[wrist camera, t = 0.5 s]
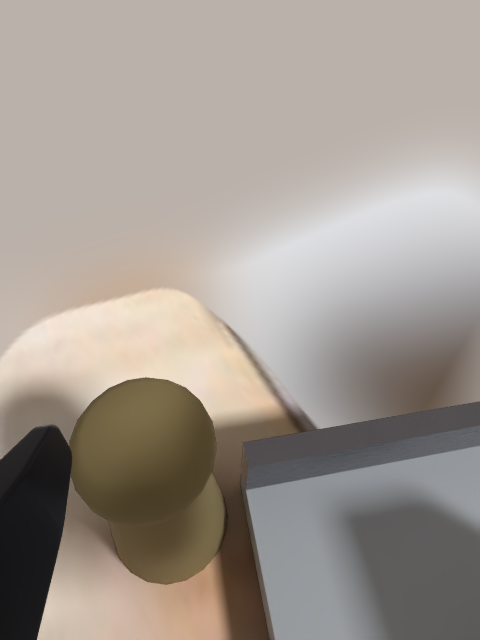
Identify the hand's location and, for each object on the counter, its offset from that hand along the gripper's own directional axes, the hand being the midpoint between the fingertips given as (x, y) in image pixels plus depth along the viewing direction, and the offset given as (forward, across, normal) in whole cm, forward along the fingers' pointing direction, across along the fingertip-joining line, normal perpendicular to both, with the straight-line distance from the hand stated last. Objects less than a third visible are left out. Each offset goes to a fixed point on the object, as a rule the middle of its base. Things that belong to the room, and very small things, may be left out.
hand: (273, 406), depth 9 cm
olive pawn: (+7, +6, +14) cm, 17 cm away
